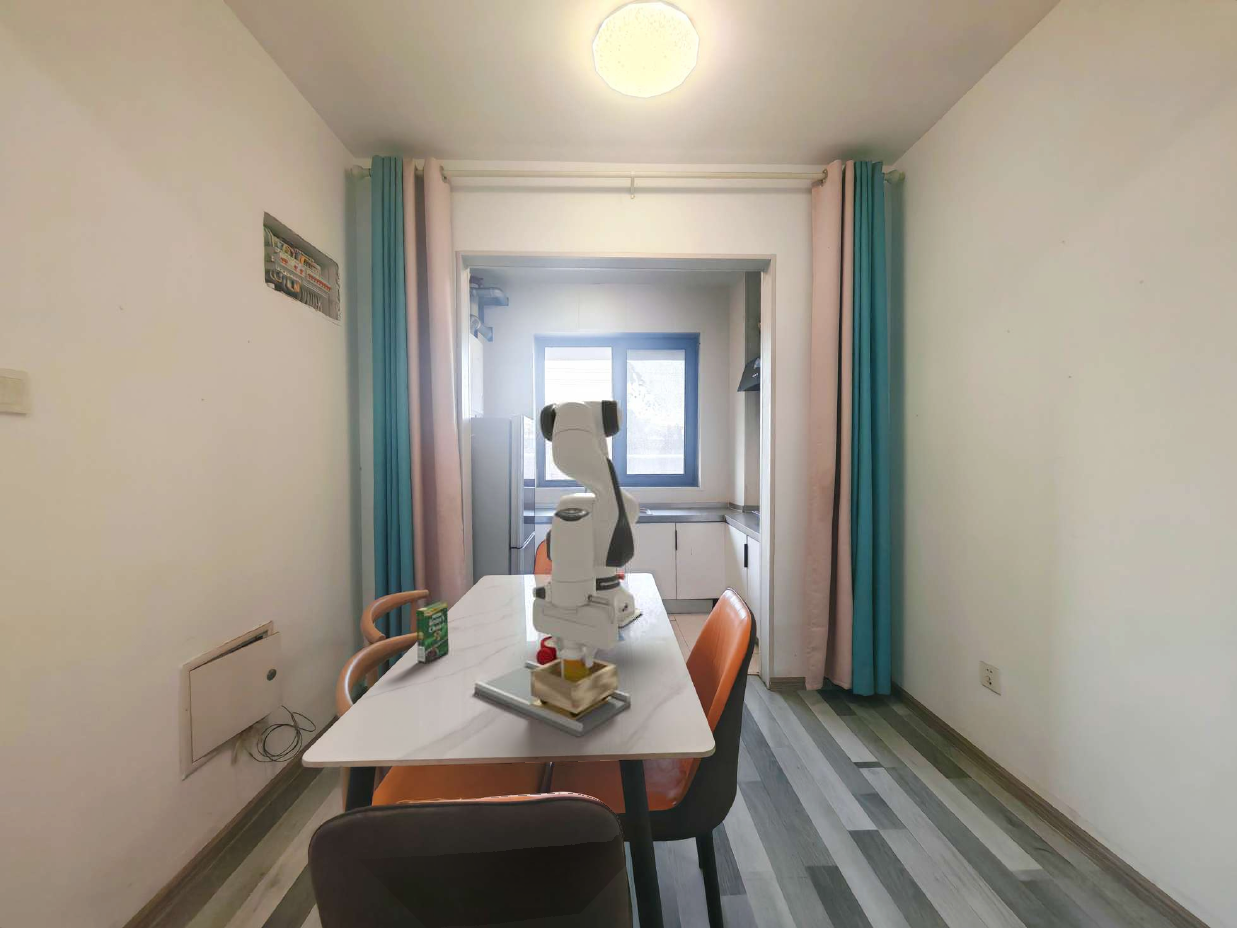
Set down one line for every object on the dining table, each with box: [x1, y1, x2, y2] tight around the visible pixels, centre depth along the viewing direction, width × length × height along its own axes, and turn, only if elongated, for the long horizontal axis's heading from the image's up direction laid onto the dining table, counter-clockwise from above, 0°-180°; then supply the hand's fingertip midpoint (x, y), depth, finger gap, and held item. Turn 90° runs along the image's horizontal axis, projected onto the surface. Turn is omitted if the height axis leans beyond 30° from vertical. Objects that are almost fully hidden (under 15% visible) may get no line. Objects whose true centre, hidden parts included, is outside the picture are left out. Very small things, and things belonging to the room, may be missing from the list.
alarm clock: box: [536, 635, 564, 665], centre depth 125 cm, size 10×6×15 cm
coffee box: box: [415, 601, 450, 664], centre depth 127 cm, size 8×3×13 cm, turn 154°
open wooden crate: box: [531, 657, 619, 717], centre depth 100 cm, size 12×12×6 cm
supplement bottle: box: [561, 639, 588, 683], centre depth 100 cm, size 5×5×10 cm
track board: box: [474, 660, 631, 738], centre depth 104 cm, size 15×30×2 cm, turn 52°
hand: (574, 661), depth 100 cm, fingers closed on supplement bottle, 5 cm apart
